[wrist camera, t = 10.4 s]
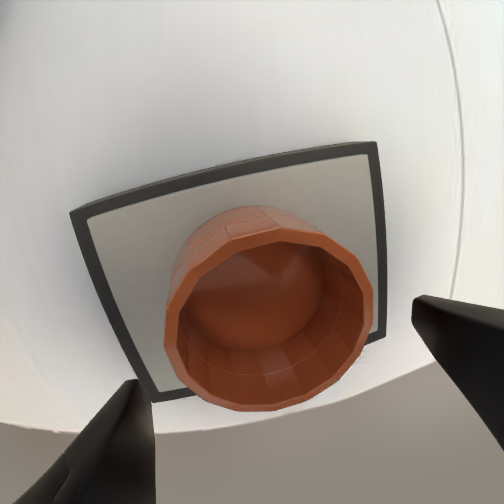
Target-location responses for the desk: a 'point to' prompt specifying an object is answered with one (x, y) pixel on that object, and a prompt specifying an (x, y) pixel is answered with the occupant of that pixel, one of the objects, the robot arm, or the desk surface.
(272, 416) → the desk surface
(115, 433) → the robot arm
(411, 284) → the desk surface
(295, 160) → the scale
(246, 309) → the bowl
